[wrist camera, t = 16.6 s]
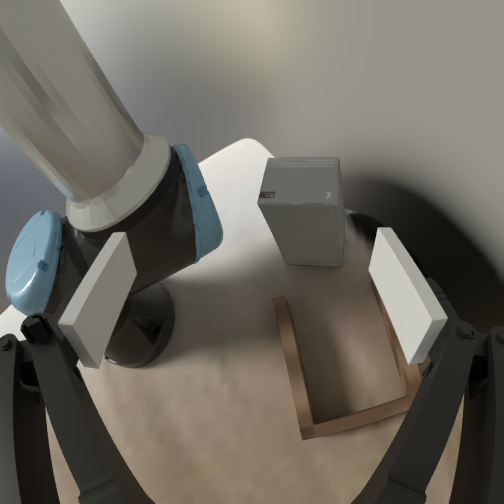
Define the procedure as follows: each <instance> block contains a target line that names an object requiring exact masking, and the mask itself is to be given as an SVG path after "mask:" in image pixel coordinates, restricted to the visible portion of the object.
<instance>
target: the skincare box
mask: <svg viewBox="0 0 504 504" xmlns="http://www.w3.org/2000/svg"><path fill="white" fill-rule="evenodd" d="M257 204H258V206H259V208H260V210H261V212H262V214H263V216H264V218H265V220H266V222H267V224H268V226H269V228H270V230H271V232H272V234H273V236H274V238H275V241H276V243H277V245H278V247H279V249H280V251H281V253H282V256H283V258H284V260H285V262H286V264H292V265H311V266H329V267H342V262H343V249H344V234H345V220H344V205H343V193H342V181H341V170H340V162H339V158H338V157H292V158H291V157H290V158H268V161H267V165H266V169H265V173H264V177H263V181H262V185H261V190H260V194H259V198H258V202H257Z"/></svg>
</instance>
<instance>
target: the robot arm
mask: <svg viewBox="0 0 504 504" xmlns="http://www.w3.org/2000/svg"><path fill="white" fill-rule="evenodd" d="M0 126H1V127H2V128H3V129H4V130H5V132H6V133H7V134H8V135H9V136H10V137H11V138H12V140H13V141H14V142H15V143H16V144H17V145H18V146H19V147H20V148H21V150H22V151H23V152H24V153H25V154H26V155H27V156H28V157H29V158H30V160H31V161H32V162H33V163H34V164H35V165H36V166H37V167H38V168H39V169H40V170H41V171H42V172H43V173H44V174H45V175H46V176H47V177H48V178H49V179H50V181H51V182H52V183H53V184H54V185H55V186H56V187H58V189H59V190H60V191H61V192H62V193H63V194H64V195H65V196H66V197H67V204H66V214H67V216H66V217H64V218H61V217H60V215H59V214H58V213H57V212H53V211H52V210H42V211H40V212H38V213H37V214H35V215H34V216H33V217H32V218H31V219H30V220H29V222H28V223H27V224H26V225H25V226H24V228H23V230H22V231H21V233H20V234H19V236H18V238H17V240H16V242H15V244H14V247H13V249H12V252H11V255H10V258H9V262H8V266H7V271H6V292H7V296H8V299H9V301H10V303H11V304H12V305H13V306H14V307H15V308H16V309H17V310H18V311H20V312H22V313H23V314H25V315H27V316H28V317H27V318H26V319H25V320H24V321H23V323H22V325H21V332H22V333H23V335H24V336H25V338H26V339H27V340H23V341H18V339H17V338H16V336H15V335H13V334H6V335H4V336H3V337H1V338H0V504H60V501H59V497H58V493H57V488H56V483H55V478H54V473H53V468H52V462H51V455H50V448H49V441H48V432H47V423H46V410H45V406H46V409H47V412H48V415H49V418H50V421H51V424H52V427H53V429H54V432H55V435H56V438H57V440H58V443H59V445H60V448H61V450H62V453H63V455H64V457H65V460H66V462H67V464H68V467H69V469H70V471H71V473H72V475H73V477H74V479H75V482H76V484H77V486H78V488H79V490H80V495H79V497H78V498H79V503H80V504H155V503H154V502H153V501H152V500H151V499H150V498H149V497H148V495H147V494H146V493H145V492H144V490H143V489H142V487H141V486H140V484H139V483H138V481H137V480H136V478H135V477H134V475H133V474H132V472H131V470H130V469H129V467H128V466H127V464H126V462H125V461H124V459H123V457H122V456H121V454H120V452H119V450H118V449H117V447H116V445H115V443H114V442H113V440H112V438H111V436H110V434H109V432H108V431H107V429H106V427H105V425H104V423H103V421H102V419H101V417H100V415H99V413H98V411H97V409H96V407H95V405H94V403H93V400H92V398H91V396H90V394H89V392H88V389H87V387H86V385H85V382H84V380H83V378H82V375H81V373H80V371H79V369H78V367H77V366H76V365H77V362H78V360H79V359H80V361H81V362H82V364H83V365H84V367H90V368H97V369H99V366H100V364H101V361H102V358H104V359H106V360H107V361H109V362H111V363H113V364H115V365H119V366H122V367H127V368H135V367H140V366H143V365H145V364H147V363H149V362H151V361H152V360H154V359H155V358H156V357H157V356H158V355H159V354H160V353H161V352H162V350H163V349H164V348H165V346H166V344H167V343H168V341H169V338H170V336H171V333H172V330H173V325H174V306H173V302H172V299H171V297H170V295H169V293H168V291H167V290H166V289H165V287H164V286H163V285H162V284H160V283H159V281H161V280H163V279H165V278H167V277H169V276H170V275H172V274H174V273H176V272H178V271H180V270H182V269H184V268H186V267H188V266H190V265H192V264H195V263H197V262H198V261H199V260H200V258H202V257H204V256H205V255H207V254H208V253H210V252H212V251H213V250H215V249H216V248H218V247H219V246H220V244H221V242H222V240H223V229H222V225H221V222H220V219H219V216H218V213H217V211H216V208H215V205H214V203H213V200H212V198H211V196H210V193H209V191H208V190H207V186H206V184H205V182H204V178H203V176H202V173H201V171H200V169H199V166H198V164H197V162H196V160H195V158H194V156H193V154H192V152H191V150H190V148H189V147H188V145H186V144H179V145H173V146H172V147H171V146H170V145H169V143H168V142H167V140H166V139H165V138H164V137H163V136H162V135H160V134H158V133H156V132H148V131H140V130H139V128H138V127H137V125H136V123H135V122H134V120H133V119H132V117H131V116H130V114H129V113H128V111H127V110H126V108H125V106H124V105H123V103H122V102H121V100H120V98H119V97H118V95H117V94H116V93H115V91H114V89H113V88H112V86H111V84H110V83H109V81H108V79H107V78H106V77H105V75H104V73H103V71H102V70H101V68H100V67H99V65H98V64H97V62H96V60H95V59H94V57H93V55H92V54H91V52H90V51H89V49H88V47H87V46H86V44H85V42H84V41H83V39H82V37H81V36H80V34H79V32H78V31H77V29H76V28H75V26H74V24H73V22H72V21H71V19H70V17H69V16H68V14H67V12H66V11H65V9H64V7H63V6H62V4H61V2H60V0H0ZM369 272H370V274H371V276H372V279H373V281H374V283H375V285H376V287H377V290H378V292H379V294H380V296H381V299H382V301H383V303H384V306H385V308H386V310H387V313H388V315H389V317H390V320H391V322H392V324H393V327H394V329H395V332H396V334H397V337H398V339H399V342H400V344H401V347H402V349H403V352H404V355H405V357H406V360H407V363H408V365H411V364H417V363H422V362H424V360H425V358H426V357H427V355H428V354H429V356H430V359H431V362H430V363H429V365H428V366H427V368H426V369H425V371H424V372H423V374H422V375H423V376H424V377H423V379H422V382H421V384H420V386H419V389H418V391H417V393H416V395H415V398H414V400H413V402H412V404H411V406H410V408H409V410H408V412H407V414H406V416H405V418H404V420H403V422H402V424H401V426H400V428H399V430H398V432H397V434H396V436H395V438H394V439H393V441H392V443H391V445H390V447H389V448H388V450H387V452H386V454H385V455H384V457H383V459H382V460H381V462H380V464H379V465H378V467H377V469H376V470H375V472H374V473H373V475H372V476H371V478H370V480H369V481H368V483H367V484H366V486H365V487H364V489H363V490H362V491H361V493H360V494H359V495H358V496H357V497H356V498H355V499H354V500H353V502H352V503H351V504H425V502H426V497H427V496H426V494H425V490H426V488H427V485H428V483H429V481H430V479H431V477H432V475H433V473H434V471H435V469H436V467H437V464H438V462H439V460H440V458H441V455H442V453H443V451H444V448H445V446H446V443H447V441H448V438H449V435H450V433H451V430H452V427H453V425H454V422H455V419H456V416H457V413H458V410H459V407H460V404H461V401H462V397H463V394H464V407H463V420H462V431H461V439H460V447H459V454H458V461H457V467H456V472H455V478H454V483H453V487H452V492H451V496H450V500H449V504H504V328H503V327H501V326H496V327H493V329H492V330H491V332H490V333H489V334H484V333H478V332H476V331H475V329H474V328H473V326H472V325H470V324H469V323H467V322H465V321H460V319H459V318H458V316H457V314H456V312H455V311H454V309H453V307H452V306H451V304H450V302H449V301H448V300H447V297H446V296H445V294H444V293H443V291H442V290H441V288H440V286H439V285H438V283H436V282H435V281H434V280H433V279H432V278H431V277H429V278H424V277H423V275H422V274H421V272H420V270H419V269H418V267H417V266H416V264H415V263H414V261H413V260H412V258H411V256H410V255H409V253H408V252H407V250H406V249H405V247H404V246H403V244H402V243H401V242H400V240H399V239H398V237H397V236H396V234H395V233H394V231H393V230H392V229H391V228H378V230H377V235H376V239H375V244H374V249H373V253H372V257H371V261H370V266H369Z"/></svg>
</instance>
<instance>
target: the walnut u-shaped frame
mask: <svg viewBox="0 0 504 504" xmlns="http://www.w3.org/2000/svg"><path fill="white" fill-rule="evenodd" d="M371 285H372V287H373V290H374V293H375V296H376V299H377V302H378V305H379V308H380V311H381V314H382V317H383V321H384V324H385V327H386V330H387V333H388V337H389V340H390V343H391V347H392V350H393V354H394V357H395V361H396V364H397V368H398V372H399V375H400V379H401V383H402V387H403V391H404V395H405V396H404V397H401V398H399V399H396V400H393V401H390V402H387V403H384V404H381V405H378V406H375V407H372V408H369V409H365V410H362V411H359V412H355V413H352V414H348V415H345V416H341V417H337V418H333V419H330V420H326V421H321V422H317V423H315V420H314V416H313V411H312V406H311V401H310V397H309V392H308V388H307V383H306V378H305V374H304V369H303V365H302V360H301V356H300V351H299V347H298V342H297V338H296V334H295V329H294V325H293V321H292V316H291V312H290V308H289V305H288V302H287V300H286V298H285V296H281V297H277V298H273V303H274V307H275V312H276V317H277V321H278V326H279V331H280V335H281V340H282V345H283V350H284V354H285V359H286V364H287V369H288V373H289V378H290V383H291V388H292V393H293V398H294V402H295V407H296V412H297V417H298V422H299V427H300V432H301V437H302V440H307V439H311V438H316V437H320V436H325V435H329V434H333V433H337V432H341V431H344V430H348V429H352V428H355V427H359V426H362V425H365V424H369V423H372V422H375V421H378V420H381V419H384V418H387V417H390V416H393V415H396V414H399V413H402V412H404V411H407V410H409V408H410V406H411V404H412V402H413V400H414V398H415V395H416V393H417V391H418V389H419V386H420V384H421V382H422V379H421V375H420V371H419V368H418V364H411V365H408V363H407V360H406V357H405V355H404V352H403V349H402V347H401V344H400V342H399V339H398V337H397V334H396V332H395V329H394V327H393V324H392V322H391V320H390V317H389V315H388V313H387V310H386V308H385V306H384V303H383V301H382V299H381V296H380V294H379V292H378V290H377V287H376V285H375V283H374V281H373V279H371Z"/></svg>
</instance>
